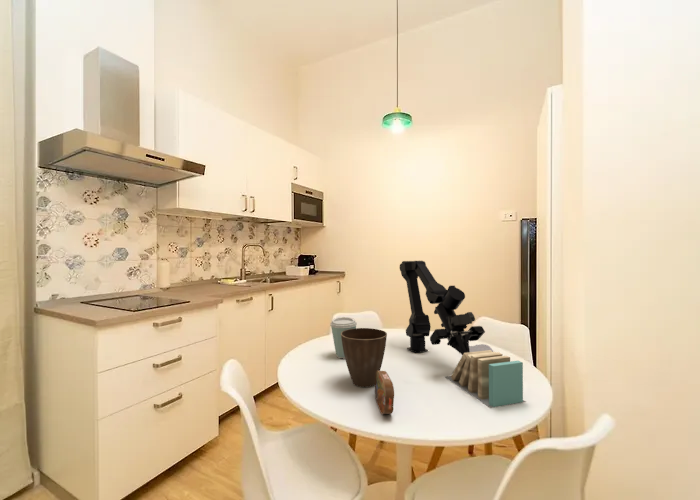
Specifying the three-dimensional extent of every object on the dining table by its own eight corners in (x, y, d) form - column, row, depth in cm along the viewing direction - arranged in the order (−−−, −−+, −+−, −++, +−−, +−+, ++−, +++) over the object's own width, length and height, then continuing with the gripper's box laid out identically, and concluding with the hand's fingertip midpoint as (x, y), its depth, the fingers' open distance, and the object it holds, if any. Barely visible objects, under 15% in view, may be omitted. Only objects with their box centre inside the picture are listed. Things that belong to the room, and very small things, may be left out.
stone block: (497, 365, 122) (488, 352, 131) (497, 354, 121) (488, 341, 130) (466, 365, 123) (459, 352, 132) (466, 354, 122) (459, 342, 131)
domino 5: (488, 404, 86) (488, 364, 86) (518, 399, 89) (518, 360, 89) (493, 407, 84) (492, 366, 84) (522, 402, 87) (522, 362, 87)
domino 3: (467, 389, 94) (470, 355, 93) (495, 385, 97) (498, 352, 96) (471, 392, 93) (474, 357, 91) (499, 388, 96) (502, 354, 94)
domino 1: (450, 376, 103) (463, 352, 96) (476, 373, 106) (490, 349, 99) (453, 380, 101) (466, 357, 95) (479, 377, 104) (493, 354, 98)
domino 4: (477, 397, 90) (477, 358, 90) (506, 392, 93) (506, 355, 93) (481, 399, 89) (481, 360, 89) (510, 394, 91) (510, 357, 91)
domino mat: (443, 377, 105) (443, 376, 105) (474, 373, 108) (474, 372, 108) (490, 409, 84) (490, 408, 84) (526, 403, 87) (526, 401, 87)
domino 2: (458, 382, 99) (467, 354, 95) (485, 378, 101) (494, 351, 97) (461, 386, 97) (470, 358, 93) (488, 382, 100) (498, 355, 96)
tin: (373, 394, 93) (373, 365, 93) (384, 393, 94) (384, 365, 94) (383, 421, 78) (383, 387, 78) (395, 420, 78) (395, 387, 79)
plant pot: (331, 381, 102) (331, 332, 102) (365, 370, 112) (365, 325, 112) (362, 397, 91) (362, 342, 91) (396, 383, 100) (396, 333, 100)
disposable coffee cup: (356, 361, 121) (356, 322, 121) (329, 360, 121) (329, 322, 121) (356, 352, 132) (356, 316, 132) (331, 352, 132) (331, 316, 132)
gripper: (434, 305, 104) (454, 348, 94) (481, 302, 110) (505, 342, 99) (422, 324, 112) (439, 365, 101) (466, 320, 117) (487, 359, 106)
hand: (468, 358), depth 102 cm, fingers closed
